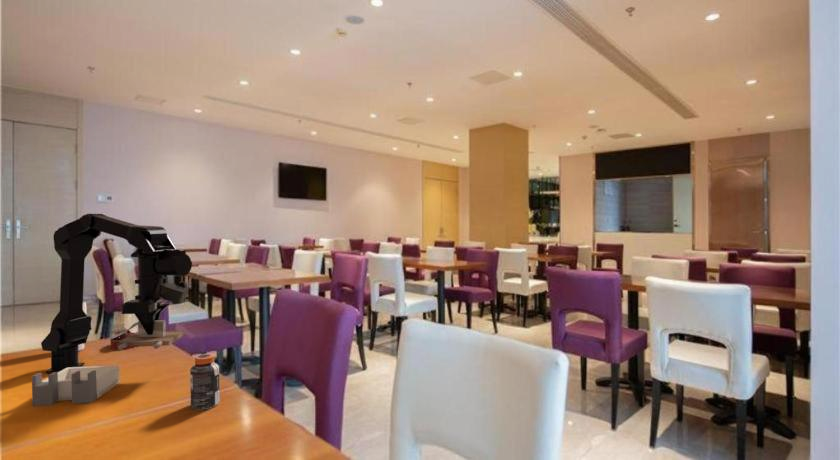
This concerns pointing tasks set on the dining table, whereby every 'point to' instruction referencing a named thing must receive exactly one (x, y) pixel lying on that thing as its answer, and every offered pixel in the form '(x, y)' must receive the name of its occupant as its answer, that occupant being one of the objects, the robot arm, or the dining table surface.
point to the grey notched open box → (74, 384)
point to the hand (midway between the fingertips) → (151, 333)
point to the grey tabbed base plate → (151, 337)
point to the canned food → (121, 338)
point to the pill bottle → (204, 382)
